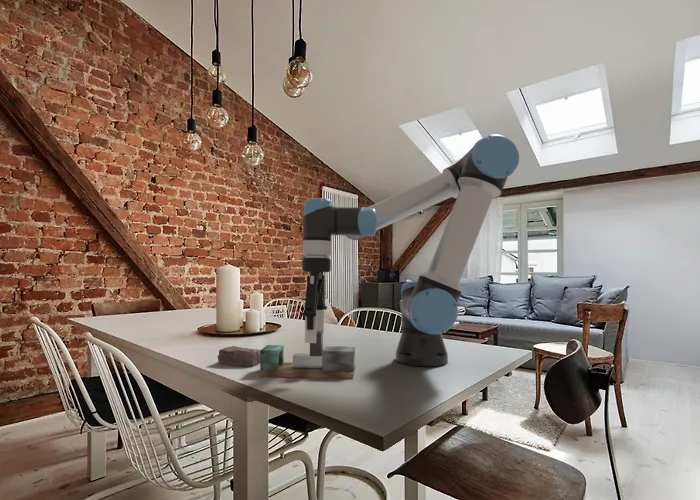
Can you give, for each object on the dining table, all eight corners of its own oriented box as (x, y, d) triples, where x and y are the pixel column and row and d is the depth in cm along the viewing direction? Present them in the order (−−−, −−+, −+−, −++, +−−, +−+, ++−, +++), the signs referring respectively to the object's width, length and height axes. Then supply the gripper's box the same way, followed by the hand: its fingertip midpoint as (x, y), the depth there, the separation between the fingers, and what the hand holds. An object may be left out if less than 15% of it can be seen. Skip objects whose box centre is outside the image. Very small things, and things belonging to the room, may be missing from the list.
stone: (253, 368, 107) (253, 351, 107) (215, 366, 110) (215, 349, 110) (268, 360, 116) (268, 344, 116) (232, 359, 119) (232, 343, 119)
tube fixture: (355, 368, 107) (355, 345, 107) (353, 378, 97) (353, 353, 97) (269, 366, 108) (269, 343, 109) (258, 376, 98) (258, 351, 99)
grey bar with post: (354, 365, 103) (354, 331, 104) (354, 368, 100) (354, 333, 101) (294, 364, 104) (295, 330, 105) (292, 367, 101) (292, 332, 102)
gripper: (310, 258, 116) (308, 329, 116) (292, 255, 92) (290, 346, 91) (335, 258, 116) (334, 330, 115) (324, 256, 91) (322, 348, 90)
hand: (314, 338), depth 103 cm, fingers open, 13 cm apart
